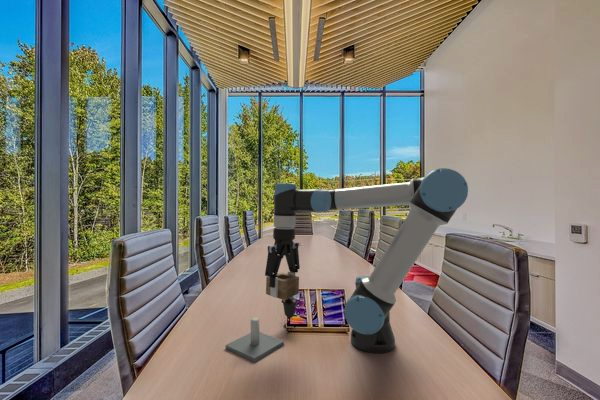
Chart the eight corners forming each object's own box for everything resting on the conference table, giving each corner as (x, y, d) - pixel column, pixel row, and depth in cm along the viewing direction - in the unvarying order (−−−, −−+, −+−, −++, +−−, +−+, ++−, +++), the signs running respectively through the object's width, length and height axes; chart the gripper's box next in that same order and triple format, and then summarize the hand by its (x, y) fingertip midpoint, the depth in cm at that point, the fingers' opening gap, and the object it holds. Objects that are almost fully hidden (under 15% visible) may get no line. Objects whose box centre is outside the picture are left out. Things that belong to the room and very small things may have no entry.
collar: (298, 293, 103) (299, 276, 103) (283, 299, 97) (283, 281, 97) (281, 288, 108) (282, 272, 108) (265, 294, 102) (266, 276, 102)
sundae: (290, 321, 123) (290, 285, 123) (301, 326, 118) (301, 288, 118) (277, 325, 118) (277, 288, 118) (289, 331, 113) (289, 292, 113)
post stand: (283, 344, 103) (283, 318, 103) (254, 362, 92) (254, 332, 92) (255, 333, 111) (255, 309, 111) (225, 348, 100) (225, 321, 100)
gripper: (295, 225, 113) (293, 284, 113) (254, 228, 96) (252, 298, 97) (310, 226, 108) (309, 288, 108) (271, 231, 92) (269, 304, 92)
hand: (282, 293), depth 102 cm, fingers closed on collar, 8 cm apart
